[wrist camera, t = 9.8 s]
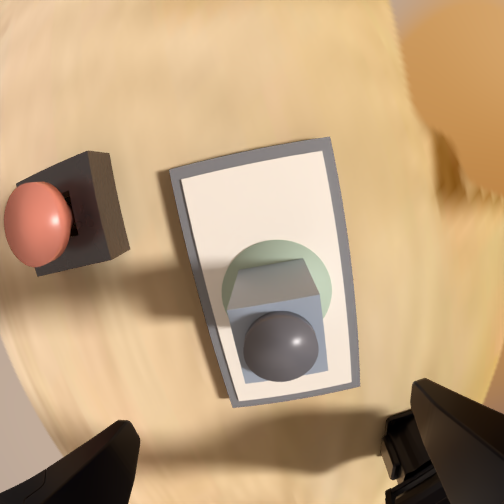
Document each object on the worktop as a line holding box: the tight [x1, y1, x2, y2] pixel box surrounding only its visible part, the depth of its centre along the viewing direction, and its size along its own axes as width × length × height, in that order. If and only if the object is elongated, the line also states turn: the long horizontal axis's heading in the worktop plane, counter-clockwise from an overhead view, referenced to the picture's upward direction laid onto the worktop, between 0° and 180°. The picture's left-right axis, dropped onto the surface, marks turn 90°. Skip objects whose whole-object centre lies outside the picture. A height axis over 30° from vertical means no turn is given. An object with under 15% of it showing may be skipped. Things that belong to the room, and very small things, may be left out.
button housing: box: [16, 151, 130, 276], centre depth 19 cm, size 7×7×3 cm
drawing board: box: [169, 137, 360, 408], centre depth 20 cm, size 10×18×2 cm, turn 12°
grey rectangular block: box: [227, 258, 328, 384], centre depth 16 cm, size 4×4×7 cm
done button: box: [4, 182, 75, 267], centre depth 16 cm, size 5×5×4 cm
